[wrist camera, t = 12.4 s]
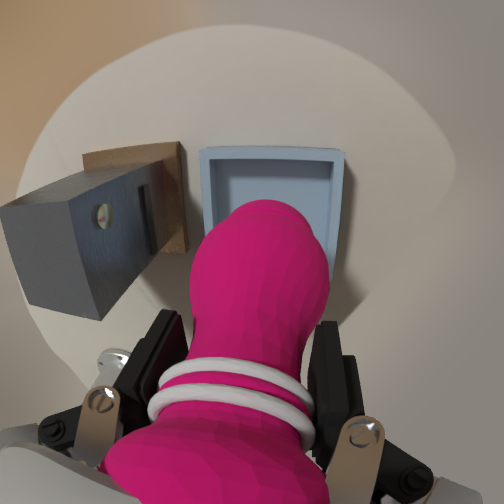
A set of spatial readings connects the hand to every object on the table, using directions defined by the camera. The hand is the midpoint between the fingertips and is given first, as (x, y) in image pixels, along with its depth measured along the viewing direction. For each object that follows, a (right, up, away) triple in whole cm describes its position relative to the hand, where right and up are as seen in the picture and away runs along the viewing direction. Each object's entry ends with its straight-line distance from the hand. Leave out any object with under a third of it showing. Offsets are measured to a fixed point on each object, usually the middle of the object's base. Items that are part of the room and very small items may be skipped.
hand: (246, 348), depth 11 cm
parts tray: (+2, +8, +16) cm, 18 cm away
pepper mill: (+1, +4, +9) cm, 10 cm away
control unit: (-12, +9, +17) cm, 23 cm away
